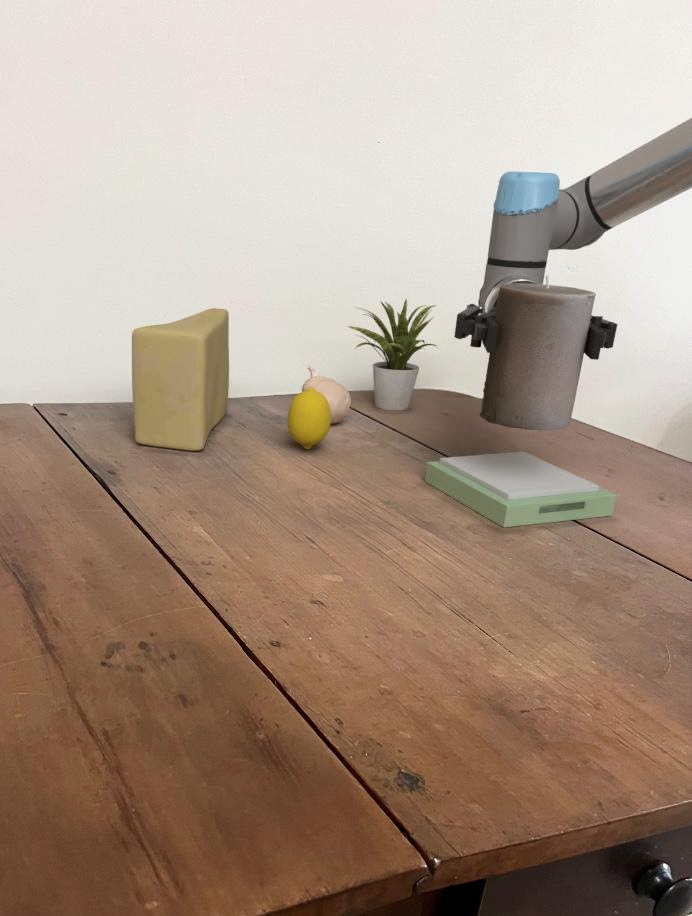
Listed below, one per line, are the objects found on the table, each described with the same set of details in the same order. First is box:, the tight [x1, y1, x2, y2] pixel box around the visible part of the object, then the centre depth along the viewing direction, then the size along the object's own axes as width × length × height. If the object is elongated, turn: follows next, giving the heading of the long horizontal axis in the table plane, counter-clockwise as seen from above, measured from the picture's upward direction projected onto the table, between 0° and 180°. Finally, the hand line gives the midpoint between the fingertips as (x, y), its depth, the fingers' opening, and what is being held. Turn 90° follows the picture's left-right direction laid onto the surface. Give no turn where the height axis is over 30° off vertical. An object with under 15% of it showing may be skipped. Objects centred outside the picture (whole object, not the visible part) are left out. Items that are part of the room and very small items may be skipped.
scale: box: [424, 451, 618, 528], centre depth 103 cm, size 16×14×3 cm
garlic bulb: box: [301, 364, 352, 424], centre depth 130 cm, size 7×6×8 cm
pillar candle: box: [479, 274, 597, 431], centre depth 97 cm, size 10×10×15 cm
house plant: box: [347, 298, 439, 411], centre depth 140 cm, size 14×14×16 cm
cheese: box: [131, 307, 230, 452], centre depth 123 cm, size 22×10×15 cm, turn 162°
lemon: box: [286, 388, 332, 450], centre depth 117 cm, size 6×6×8 cm
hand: (544, 342), depth 93 cm, fingers closed on pillar candle, 9 cm apart
